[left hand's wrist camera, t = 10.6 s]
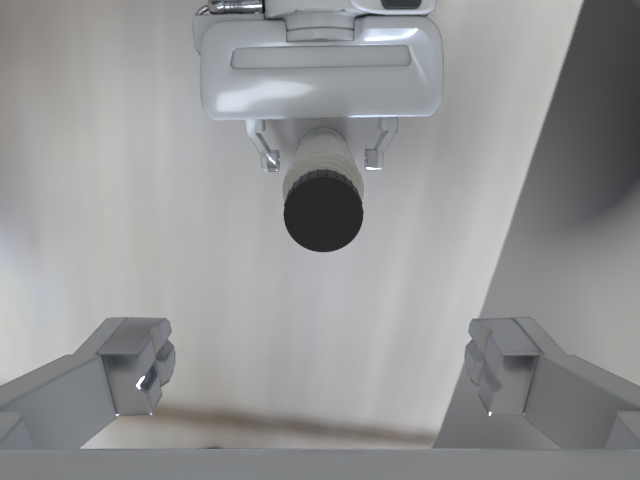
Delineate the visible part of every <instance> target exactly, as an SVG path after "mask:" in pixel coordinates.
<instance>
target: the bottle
mask: <svg viewBox="0 0 640 480" xmlns="http://www.w3.org/2000/svg"><path fill="white" fill-rule="evenodd" d="M317 169H318V170H326V169H328V170H332V171H337V172H338V173H340V174H342V175H345V177H347V178H348V179H349V180H350V181H352V183H353V185H354V186H355V188H357V190H358V193H359V196H360V198H361V201H362V199H363V193H364V187H363V181H362V178H361V175H360V173H359V171H358V168H357V166H356V164H355V162H354V160H353V157H352V155H351V153H350V151H349V148H348V146H347V144H346V142H345V140H344V138H343V137H342V136H341V135H340V134H339V133H338V132H336V131H334V130H332V129H329V128H316V129H313V130H311V131H309V132H308V133H307V134H306V135H305V136H304V137H303V138H302V139H301V141H300V143H299V146H298V148H297V150H296V153H295V155H294V157H293V160H292V162H291V164H290V167H289V169H288V171H287V174H286V176H285V179H284V183H283V197H284V202H285V201H286V198H287V195H288V192H289V189H290V190H291V188H292V186H293V183H294V182H296V181H297V180H298V179H299V178H300V176H303V175H305V174H307V173H308V172H312V171H315V170H317Z"/></svg>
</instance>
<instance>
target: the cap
mask: <svg viewBox="0 0 640 480" xmlns="http://www.w3.org/2000/svg"><path fill="white" fill-rule="evenodd" d="M284 206H285V208H284V221H285V225H286V228H287V230H288V232H289V234H290V235H291V237H292V238H293V239H294V240H295V241H296V242H297V243H298V244H299V245H301V246H303V247H304V248H306V249H309V250H312V251H316V252H331V251H335V250H338V249H340V248H343V247H344V246H346V245H347V244H349V243H350V242H351V241H352V240H353V239H354V238H355V236H356V235H357V234H358V232H359V230H360V228H361V225H362V221H363V208H362V201H361V198H360V196H359V193H358V190H357V188H355V186H354V185H353V183H352V181H350V180H349V179H348V178H347V177H345V175H342V174H340V173H338V172H337V171H332V170H328V169H326V170H318V169H317V170H315V171H312V172H308V173H307V174H305V175H303V176H300V178H299V179H298V180H297V181H296V182H294V183H293V186H292V188H291V190H290V189H289V192H288V195H287V198H286V201H285V204H284Z"/></svg>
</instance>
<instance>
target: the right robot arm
mask: <svg viewBox="0 0 640 480" xmlns="http://www.w3.org/2000/svg"><path fill="white" fill-rule="evenodd" d="M435 5H436V0H209V1H208V5H205V6H203V7H201V8H200V9H199V10H198V11H197V12H196V14H195V16H194V19H193V33H194V41H195V47H196V50H197V52H198V53H199V55H200V56H201V61H200V90H201V103H202V108H203V110H204V111H205V112H206V114H207V115H208V116H209V117H210V118H211V119H212V120H246V131H247V135H248V136H249V138H250V139H251V141H252V142H253V144H254V145H255V147H256V148H257V150H258V151H259V153H261V162H262V171H263V172H279V170H280V162H279V160H278V159H279V150H270V148H269V146H268V145H267V143H266V141H265V140H264V138H263V137H262V135H261V133H262V132H263V131H265V130H266V129H265V119H316V118H373V117H378V128H379V129H380V130H382V131H383V132H382V134H381V136H380V138H379V139H378V141H377V143H376V145H375V146H374V148H367V149H365V157H366V159H365V169H366V170H382V168H383V151H385V150H386V148H387V146H388V145H389V143H390V142H391V140H392V138H393V137H394V135H395V134H396V132H397V124H398V117H429V116H432V115H433V114H434V113H435V112H436V110H437V109H438V108H439V107H440V105H441V103H442V96H443V80H444V60H443V44H442V37H441V34H440V31H439V29H438V27H437V25H436V24H435V23H434V22H433V21H432V20H431V19H429V18H427V16H428V15H429V14H430V13H431V12H432V10H433V9H434V7H435ZM206 11H209V12H210V14H211V15H202V14H203V13H204V12H206ZM264 12H265V15H264ZM235 13H236V14H235ZM265 18H266V20H265Z"/></svg>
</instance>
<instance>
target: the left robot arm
mask: <svg viewBox="0 0 640 480" xmlns="http://www.w3.org/2000/svg"><path fill="white" fill-rule="evenodd" d="M171 332H172V331H171V326H170V321H169V320H168V319H167V318H139V317H130V318H128V317H111V318H107V319H106V320H105V321H104V322H103V323H102V324H101V325H100V326H99V327H98V328H97V329H96V330H95V331H94V333H93V334H92V335H91V336H90V337H89V338H88V339H87V340H86V341H85V342H84V343H83V344H82V345H81V346H80V348H79V349H78V350H77V351H76V352H75V353H74V354H73V355H65V356H63V357H61V358H59V359H56V360H54V361H52V362H50V363H48V364H46V365H44V366H42V367H40V368H38V369H35V370H33V371H31V372H29V373H27V374H25V375H23V376H21V377H19V378H17V379H14V380H12V381H10V382H8V383H6V384H4V385H2V386H0V480H640V386H638V385H636V384H634V383H632V382H630V381H628V380H625V379H623V378H621V377H619V376H617V375H615V374H613V373H611V372H609V371H607V370H604V369H602V368H600V367H598V366H596V365H594V364H592V363H590V362H588V361H586V360H583V359H581V358H579V357H577V356H575V355H567V354H566V353H565V352H564V351H563V350H562V349H561V347H560V346H559V345H558V344H557V343H556V342H555V341H554V340H553V339H552V338H551V337H550V336H549V335H548V334H547V333H546V331H545V330H544V329H543V328H542V327H541V326H540V325H539V324H538V323H537V322H536V321H535V320H534V319H533V318H530V317H514V318H480V319H472V320H471V322H470V325H469V331H468V332H469V334H470V336H471V337H472V340H471V341H470V342H469V343H468V344H467V345H466V349H465V367H466V371H467V374H468V376H469V378H470V380H471V382H472V383H474V384H475V385H477V386H478V387H479V390H478V396H479V398H480V400H481V402H482V404H483V406H484V407H485V409H486V411H487V413H488V415H511V416H523V418H524V419H526V420H527V421H528V422H529V423H531V424H532V425H533V426H534V427H536V428H537V429H538V430H539V431H540V432H542V433H543V434H544V435H545V436H546V437H548V438H549V439H550V440H551V441H553V442H554V443H555V444H556V445H558V446H559V447H560V448H561V449H79V448H80V447H81V446H83V445H84V444H85V443H86V442H88V441H89V440H90V439H91V438H92V437H94V436H95V435H96V434H97V433H99V432H100V431H101V430H102V429H103V428H105V427H106V426H107V425H108V424H110V423H111V422H112V421H113V420H115V419H116V418H117V416H129V415H152V413H153V411H154V409H155V408H156V406H157V404H158V402H159V400H160V398H161V396H162V390H161V387H162V386H163V385H165V384H166V383H168V382H169V380H170V378H171V376H172V374H173V370H174V366H175V349H174V345H173V344H172V343H171V342H170V341H169V340H168V337H169V336H170V334H171Z"/></svg>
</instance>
